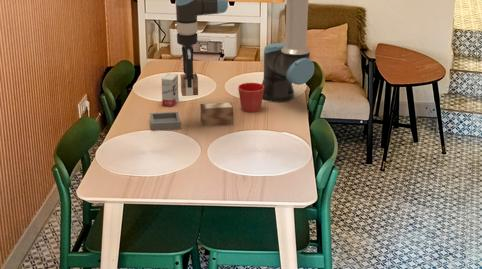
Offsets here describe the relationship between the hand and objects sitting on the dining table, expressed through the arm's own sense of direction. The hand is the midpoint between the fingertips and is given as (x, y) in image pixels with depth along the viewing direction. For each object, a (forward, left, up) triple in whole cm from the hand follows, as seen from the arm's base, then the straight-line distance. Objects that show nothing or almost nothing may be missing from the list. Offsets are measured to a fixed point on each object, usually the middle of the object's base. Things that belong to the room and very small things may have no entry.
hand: (188, 92), depth 262 cm
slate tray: (+9, -1, -13) cm, 16 cm away
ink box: (+5, -25, -13) cm, 29 cm away
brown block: (0, 0, 0) cm, 1 cm away
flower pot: (-27, -13, -13) cm, 32 cm away
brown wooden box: (-11, 0, -13) cm, 17 cm away
